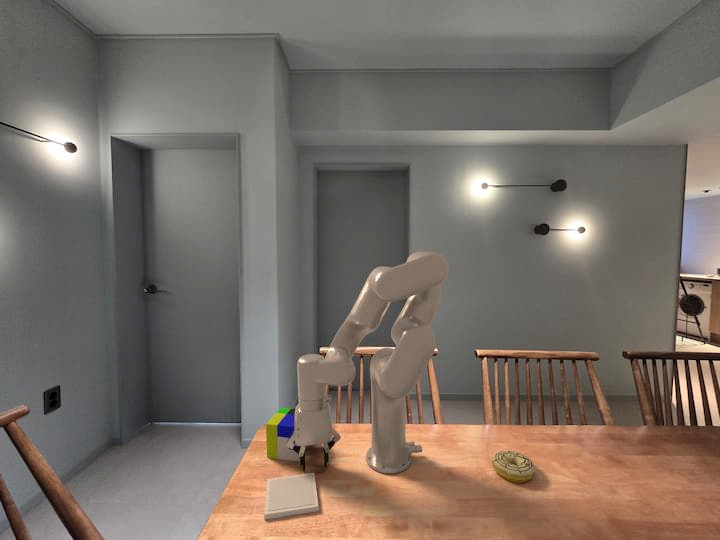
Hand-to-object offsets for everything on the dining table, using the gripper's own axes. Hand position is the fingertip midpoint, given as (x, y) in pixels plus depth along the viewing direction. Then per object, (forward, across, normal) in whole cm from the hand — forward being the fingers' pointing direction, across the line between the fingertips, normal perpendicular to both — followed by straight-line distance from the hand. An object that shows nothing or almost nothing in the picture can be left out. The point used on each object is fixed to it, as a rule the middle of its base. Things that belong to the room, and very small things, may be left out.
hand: (314, 465), depth 97 cm
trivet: (+1, +6, +10) cm, 12 cm away
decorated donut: (+2, -52, +13) cm, 53 cm away
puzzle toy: (+1, +6, -10) cm, 12 cm away
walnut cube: (+1, 0, 0) cm, 1 cm away
